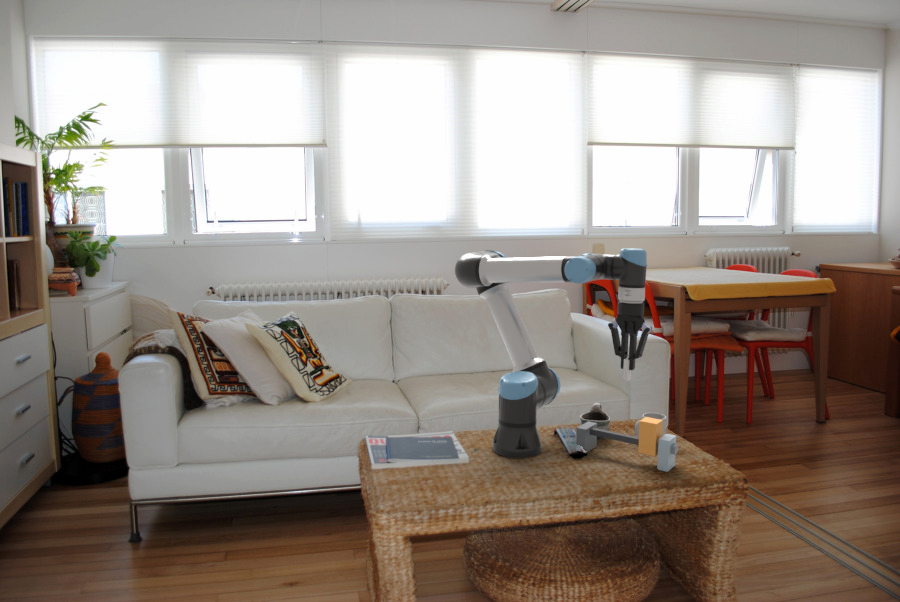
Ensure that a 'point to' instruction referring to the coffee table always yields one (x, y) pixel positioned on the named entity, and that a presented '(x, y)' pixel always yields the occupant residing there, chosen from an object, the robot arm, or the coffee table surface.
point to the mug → (596, 417)
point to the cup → (652, 415)
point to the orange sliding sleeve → (649, 435)
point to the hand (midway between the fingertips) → (626, 380)
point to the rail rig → (664, 446)
